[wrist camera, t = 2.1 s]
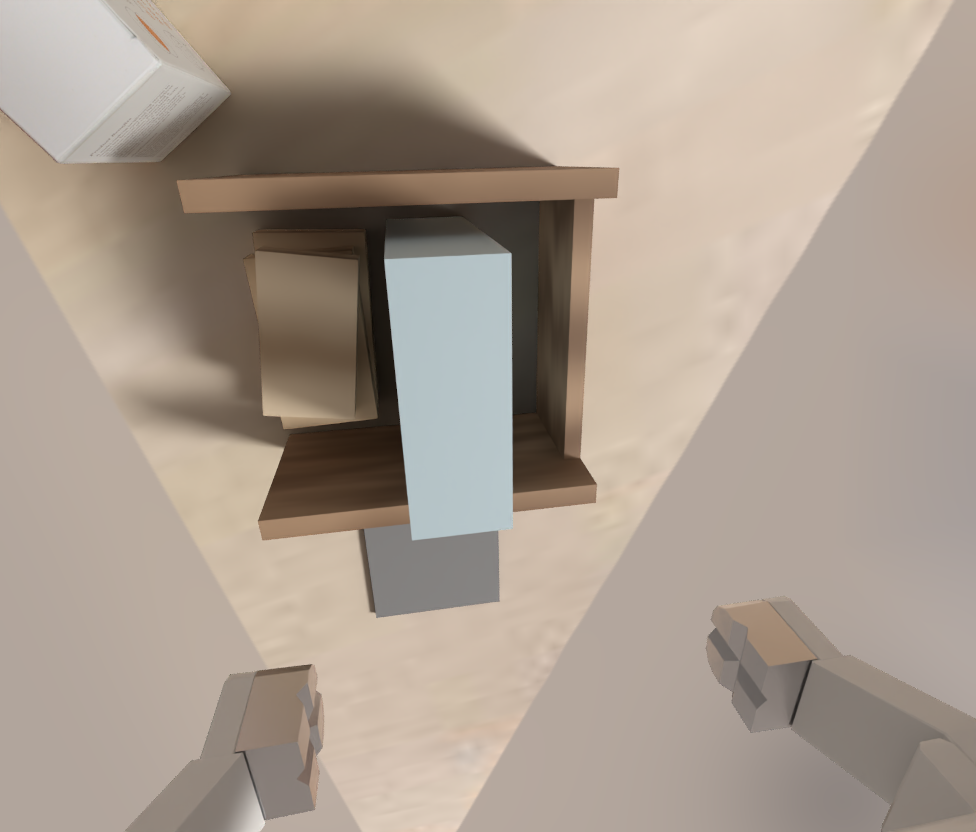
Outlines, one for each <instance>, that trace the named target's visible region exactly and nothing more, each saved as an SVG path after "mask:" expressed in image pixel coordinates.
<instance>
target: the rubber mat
mask: <svg viewBox="0 0 976 832" xmlns="http://www.w3.org/2000/svg"><path fill="white" fill-rule="evenodd" d="M364 534H365V541H366V548H367V555H368V562H369V569H370V576H371V583H372V590H373V597H374V604H375V611H376V618H379V617H387V616H394V615H401V614H409V613H416V612H424V611H431V610H438V609H446V608H453V607H461V606H468V605H475V604H483V603H490V602H498V601H499V547H498V530H497V531H489V532H480V533H472V534H463V535H455V536H446V537H438V538H429V539H421V540H412V535H411V525H410V524H403V525H394V526H385V527H376V528H368V529H364Z"/></svg>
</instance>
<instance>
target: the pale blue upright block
mask: <svg viewBox="0 0 976 832" xmlns="http://www.w3.org/2000/svg"><path fill="white" fill-rule="evenodd" d="M384 263H385V273H386V283H387V293H388V303H389V313H390V324H391V334H392V344H393V354H394V364H395V374H396V384H397V394H398V404H399V414H400V424H401V434H402V444H403V454H404V465H405V475H406V485H407V495H408V505H409V515H410V525H411V535H412V540H421V539H429V538H438V537H446V536H455V535H463V534H472V533H480V532H489V531H497V530H506V529H513V461H512V255H511V252H509V251H508V250H507V249H505V248H504V247H503V246H501V245H500V244H499V243H497V242H496V241H495V240H493V239H492V238H491V237H489V236H488V235H487V234H485V233H484V232H483V231H481V230H480V229H479V228H477V227H476V226H474V225H473V224H472V223H470V222H469V221H468V220H466V219H465V218H464V217H462V216H458V217H432V218H406V219H386V235H385V253H384Z"/></svg>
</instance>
